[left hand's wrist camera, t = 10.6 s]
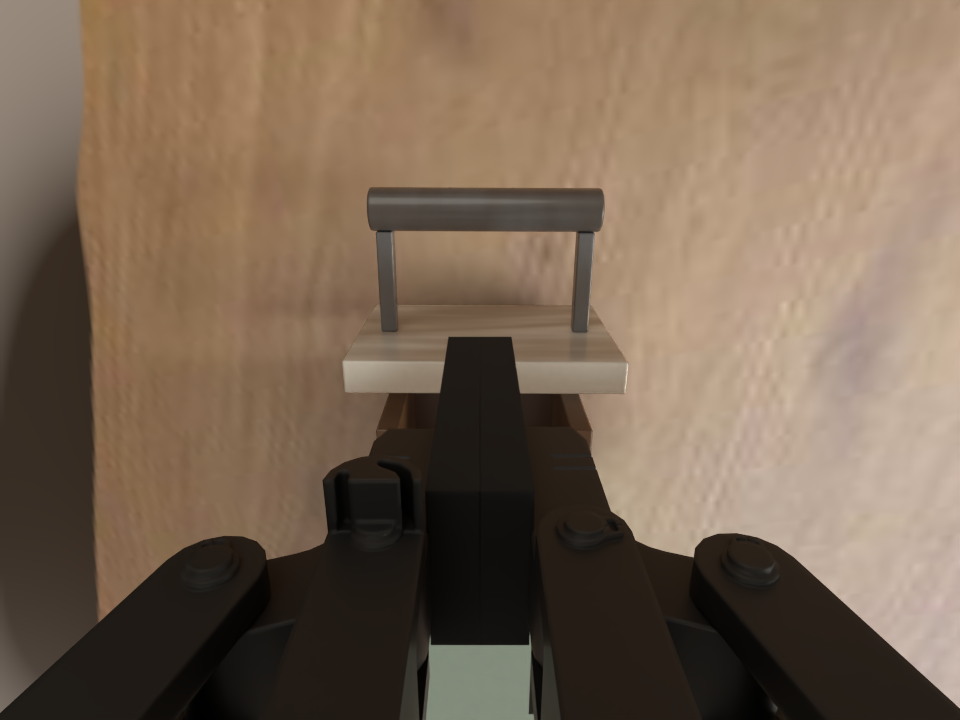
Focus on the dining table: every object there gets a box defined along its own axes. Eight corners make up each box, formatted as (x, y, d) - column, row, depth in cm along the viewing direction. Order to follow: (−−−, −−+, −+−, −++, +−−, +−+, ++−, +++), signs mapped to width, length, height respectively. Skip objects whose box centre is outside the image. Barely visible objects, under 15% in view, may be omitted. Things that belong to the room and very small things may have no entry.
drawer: (368, 179, 25) (328, 197, 19) (601, 180, 25) (645, 199, 19) (395, 647, 34) (374, 773, 28) (567, 647, 34) (588, 773, 28)
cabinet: (376, 464, 31) (337, 591, 23) (588, 465, 31) (629, 592, 23) (395, 756, 39) (371, 934, 30) (565, 756, 39) (589, 935, 30)
